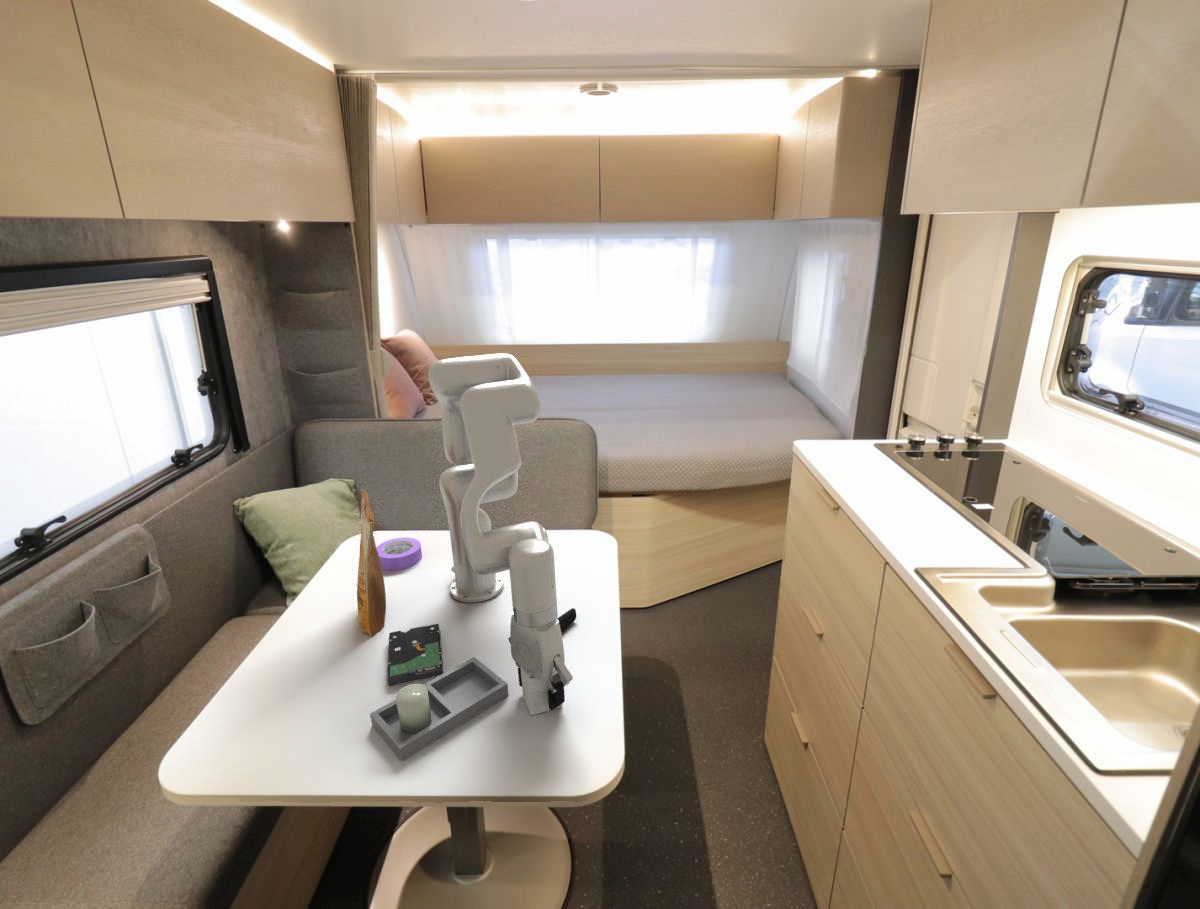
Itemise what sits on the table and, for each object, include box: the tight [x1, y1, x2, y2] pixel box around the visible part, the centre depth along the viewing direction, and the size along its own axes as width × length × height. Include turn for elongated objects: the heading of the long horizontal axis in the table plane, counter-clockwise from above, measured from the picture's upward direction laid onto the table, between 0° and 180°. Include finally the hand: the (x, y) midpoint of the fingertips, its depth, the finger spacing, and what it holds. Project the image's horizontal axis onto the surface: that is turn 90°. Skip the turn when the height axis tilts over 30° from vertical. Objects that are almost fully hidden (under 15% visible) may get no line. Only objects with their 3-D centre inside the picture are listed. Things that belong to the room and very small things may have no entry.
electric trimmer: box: [557, 608, 577, 634], centre depth 127 cm, size 4×16×3 cm, turn 142°
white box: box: [520, 666, 563, 716], centre depth 108 cm, size 6×6×7 cm
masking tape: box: [376, 536, 423, 571], centre depth 161 cm, size 12×12×4 cm
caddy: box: [369, 656, 509, 762], centre depth 108 cm, size 21×11×3 cm, turn 134°
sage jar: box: [395, 683, 432, 734], centre depth 104 cm, size 5×5×6 cm
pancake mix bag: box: [356, 488, 387, 638], centre depth 132 cm, size 7×19×28 cm, turn 18°
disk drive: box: [386, 623, 444, 687], centre depth 122 cm, size 10×3×15 cm
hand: (541, 693), depth 109 cm, fingers closed on white box, 7 cm apart
